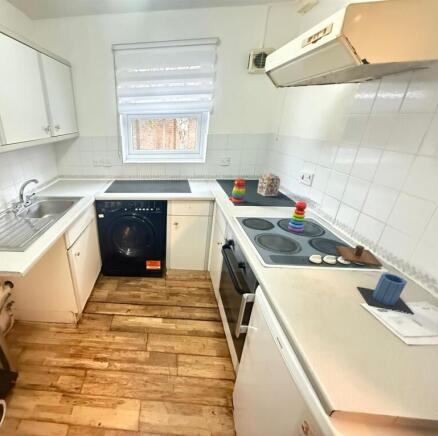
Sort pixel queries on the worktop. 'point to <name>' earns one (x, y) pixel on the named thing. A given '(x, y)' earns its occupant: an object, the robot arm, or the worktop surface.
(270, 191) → the decorative jar
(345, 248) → the platform
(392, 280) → the blue ribbed cup
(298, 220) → the stacking toy
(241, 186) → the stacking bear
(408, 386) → the worktop surface
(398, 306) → the mat
